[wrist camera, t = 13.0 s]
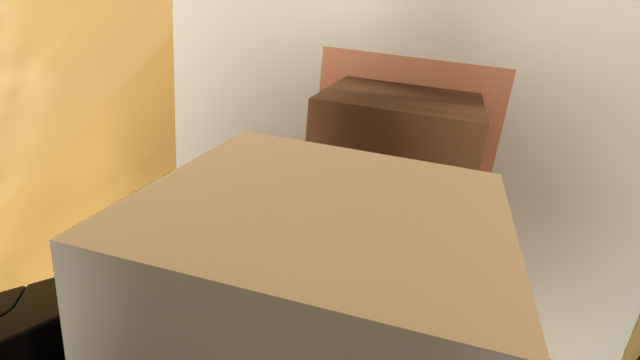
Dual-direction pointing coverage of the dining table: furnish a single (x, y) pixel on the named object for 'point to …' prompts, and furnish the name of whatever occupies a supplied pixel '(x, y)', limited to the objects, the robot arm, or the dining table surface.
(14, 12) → the dining table surface
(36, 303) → the robot arm
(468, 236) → the offwhite cube
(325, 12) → the blueprint board
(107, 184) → the dining table surface
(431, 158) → the walnut cube
